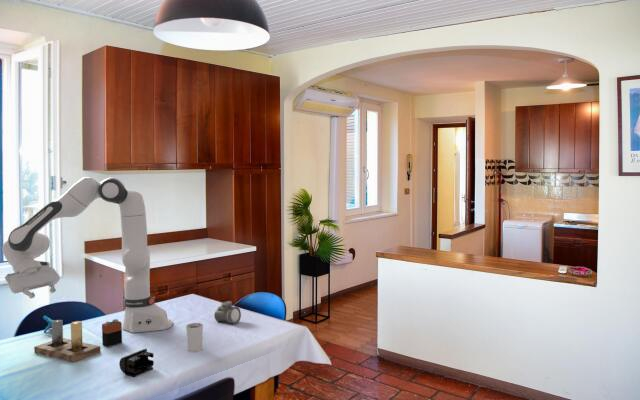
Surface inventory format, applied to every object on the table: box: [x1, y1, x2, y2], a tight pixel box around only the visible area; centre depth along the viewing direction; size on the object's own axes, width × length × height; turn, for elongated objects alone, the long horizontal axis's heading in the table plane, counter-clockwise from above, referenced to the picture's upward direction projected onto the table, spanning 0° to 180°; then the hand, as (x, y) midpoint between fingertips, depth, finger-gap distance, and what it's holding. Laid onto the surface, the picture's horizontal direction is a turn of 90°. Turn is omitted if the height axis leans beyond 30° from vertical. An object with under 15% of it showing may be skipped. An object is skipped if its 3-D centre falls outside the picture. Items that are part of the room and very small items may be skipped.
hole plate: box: [33, 337, 101, 363], centre depth 200 cm, size 24×12×2 cm, turn 63°
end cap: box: [118, 348, 155, 378], centre depth 181 cm, size 10×7×7 cm
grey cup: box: [185, 322, 204, 353], centre depth 203 cm, size 7×7×10 cm
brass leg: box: [70, 320, 84, 352], centre depth 197 cm, size 4×4×13 cm
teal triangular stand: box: [42, 315, 55, 333], centre depth 228 cm, size 11×6×10 cm
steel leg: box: [51, 319, 64, 348], centre depth 203 cm, size 4×4×12 cm
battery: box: [101, 318, 123, 348], centre depth 210 cm, size 4×7×10 cm, turn 142°
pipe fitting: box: [214, 300, 242, 325], centre depth 240 cm, size 12×8×10 cm
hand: (43, 294), depth 210 cm, fingers open, 8 cm apart
